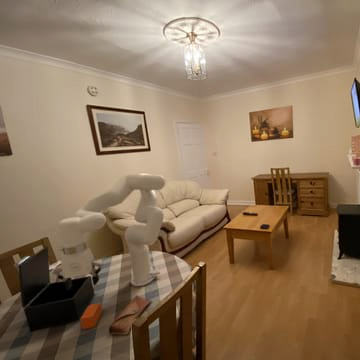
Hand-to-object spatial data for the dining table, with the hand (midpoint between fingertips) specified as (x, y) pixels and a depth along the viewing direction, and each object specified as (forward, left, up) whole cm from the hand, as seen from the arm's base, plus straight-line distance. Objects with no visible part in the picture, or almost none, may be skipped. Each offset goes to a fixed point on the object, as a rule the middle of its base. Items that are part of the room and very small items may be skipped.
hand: (83, 285), depth 87 cm
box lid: (+21, -10, +3) cm, 24 cm away
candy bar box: (+24, -24, -17) cm, 38 cm away
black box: (+14, -10, -17) cm, 24 cm away
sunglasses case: (-18, +3, -17) cm, 25 cm away
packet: (-1, 0, -17) cm, 17 cm away
